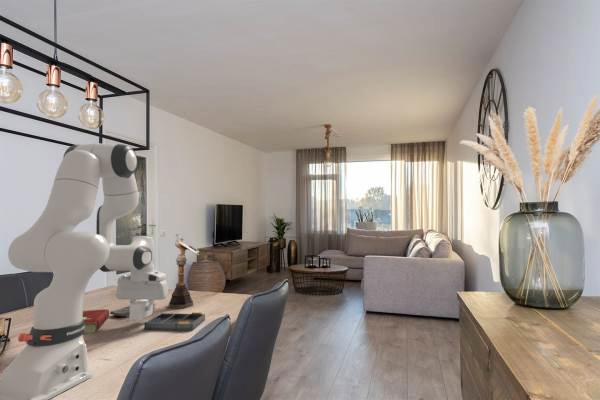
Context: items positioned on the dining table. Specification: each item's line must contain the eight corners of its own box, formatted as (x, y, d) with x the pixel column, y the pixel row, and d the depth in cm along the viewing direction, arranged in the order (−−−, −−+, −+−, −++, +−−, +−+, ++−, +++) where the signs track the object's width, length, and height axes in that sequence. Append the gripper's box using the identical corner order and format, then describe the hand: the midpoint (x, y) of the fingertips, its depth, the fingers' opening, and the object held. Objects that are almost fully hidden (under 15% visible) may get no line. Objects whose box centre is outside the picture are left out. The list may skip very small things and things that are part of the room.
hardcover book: (109, 317, 151) (109, 308, 151) (96, 333, 131) (96, 322, 131) (77, 320, 147) (77, 310, 147) (59, 337, 127) (59, 325, 127)
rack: (192, 330, 131) (192, 322, 131) (144, 329, 133) (144, 321, 133) (205, 320, 145) (205, 312, 145) (161, 319, 146) (161, 311, 147)
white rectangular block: (139, 320, 134) (139, 304, 135) (129, 320, 135) (129, 304, 135) (152, 313, 144) (152, 298, 145) (143, 313, 145) (143, 298, 145)
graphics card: (138, 300, 167) (155, 302, 162) (138, 308, 167) (156, 310, 161) (104, 309, 153) (122, 312, 147) (104, 318, 152) (122, 321, 147)
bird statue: (202, 300, 179) (203, 231, 181) (204, 306, 167) (205, 232, 169) (168, 303, 174) (169, 232, 176) (167, 309, 162) (168, 233, 163)
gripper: (113, 276, 139) (112, 312, 138) (162, 277, 137) (162, 312, 136) (122, 274, 145) (121, 308, 144) (170, 274, 143) (169, 308, 142)
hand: (141, 310), depth 140 cm, fingers closed on white rectangular block, 4 cm apart
